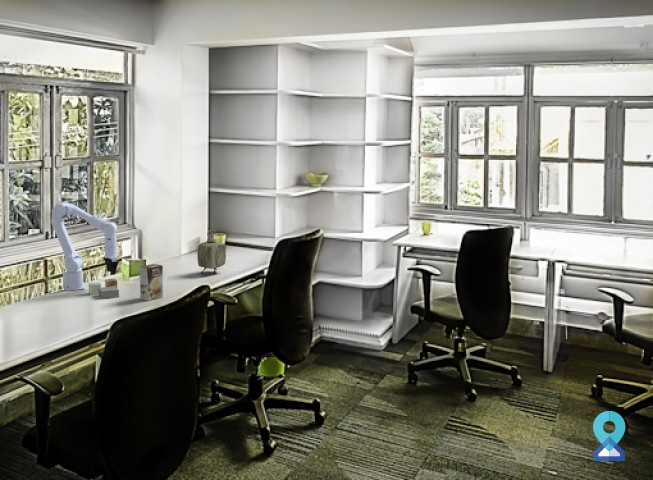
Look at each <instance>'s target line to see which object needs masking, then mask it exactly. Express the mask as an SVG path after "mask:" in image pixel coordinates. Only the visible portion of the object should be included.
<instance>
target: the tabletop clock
mask: <svg viewBox="0 0 653 480" xmlns="http://www.w3.org/2000/svg"><path fill="white" fill-rule="evenodd" d="M213 231H214V233H215V234H214V235H213V234H210V235H209V233H210V232H213ZM206 235H207V237H208V238H207V241H206V240H205V241H202V242H201V243H199V244H198V246H197V256H196V257H197V258H196V259H197V265H198V267H200V268H203V270H202V271H200V274H201V275H204V273H205V271H206V270H207V269H210V270H212V269H213V270H214V271H213V274H214V273H216V274H218V273H217V271H218V268H220V267H223V266H225V264H226V260H227V259H226V258H227V249H226V245H225V243H223V242H221V241H217V239H216V238H215V236H216V235H217V230H215V229H209V230H208V231H207V234H206ZM215 270H217V271H215Z"/></svg>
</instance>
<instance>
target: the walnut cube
mask: <svg viewBox="0 0 653 480" xmlns="http://www.w3.org/2000/svg"><path fill="white" fill-rule="evenodd" d="M104 283H105V285H104V287H112V286H115V287H116V288H117V289H118V290H119V287H118V280H117V279H116V278H106V279H104Z"/></svg>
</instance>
